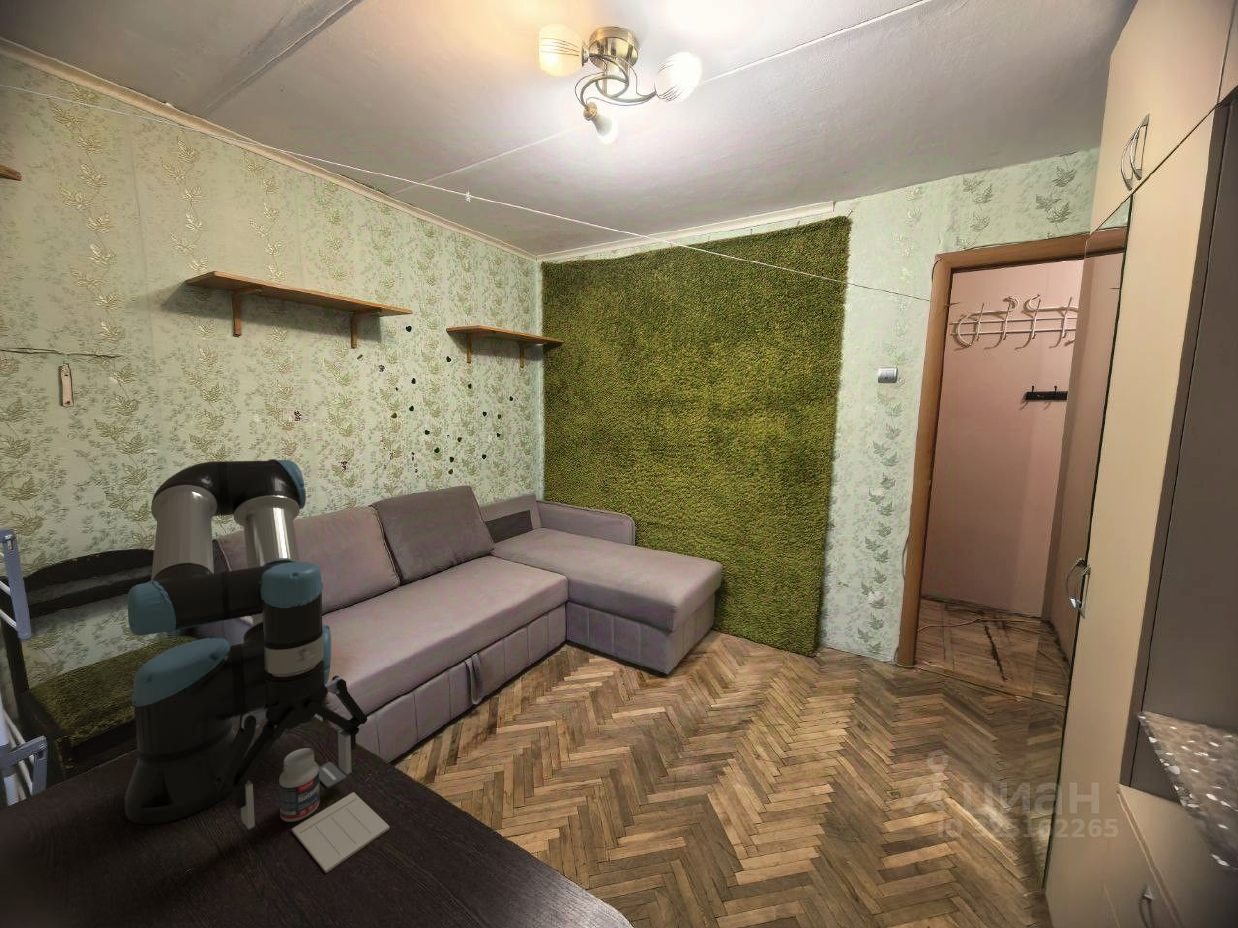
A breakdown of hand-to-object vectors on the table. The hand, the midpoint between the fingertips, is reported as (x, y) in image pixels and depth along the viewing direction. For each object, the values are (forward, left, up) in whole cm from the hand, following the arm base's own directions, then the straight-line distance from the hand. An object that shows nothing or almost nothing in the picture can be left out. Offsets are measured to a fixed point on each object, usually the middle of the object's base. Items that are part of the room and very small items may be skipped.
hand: (300, 794), depth 76 cm
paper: (+9, +2, -3) cm, 9 cm away
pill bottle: (0, 0, -3) cm, 3 cm away
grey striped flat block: (-4, +6, -3) cm, 8 cm away
